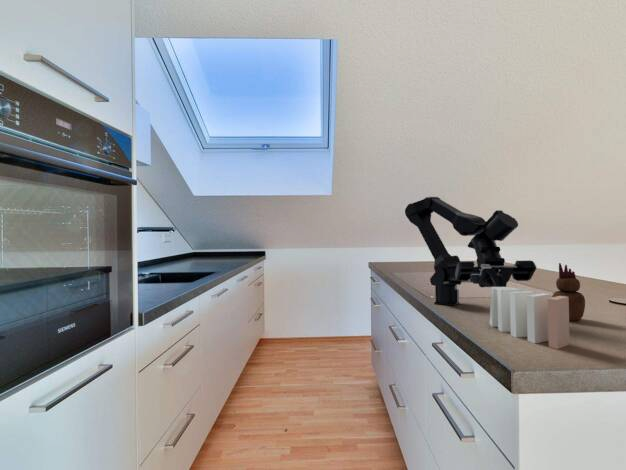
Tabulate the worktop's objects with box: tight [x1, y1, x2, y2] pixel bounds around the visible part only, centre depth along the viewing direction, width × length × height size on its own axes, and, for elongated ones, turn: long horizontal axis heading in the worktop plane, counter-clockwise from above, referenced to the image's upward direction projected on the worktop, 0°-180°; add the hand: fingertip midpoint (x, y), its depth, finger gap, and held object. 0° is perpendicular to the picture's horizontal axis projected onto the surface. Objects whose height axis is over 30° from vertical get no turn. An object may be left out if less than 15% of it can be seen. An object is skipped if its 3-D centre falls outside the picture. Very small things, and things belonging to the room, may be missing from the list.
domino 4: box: [527, 292, 551, 344], centre depth 70 cm, size 2×5×10 cm, turn 109°
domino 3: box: [510, 290, 536, 339], centre depth 74 cm, size 2×5×10 cm, turn 99°
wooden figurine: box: [551, 262, 586, 322], centre depth 86 cm, size 7×6×15 cm
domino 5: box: [548, 296, 571, 350], centre depth 67 cm, size 2×5×10 cm, turn 119°
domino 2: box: [497, 287, 523, 333], centre depth 78 cm, size 2×5×10 cm, turn 89°
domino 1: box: [489, 286, 515, 328], centre depth 81 cm, size 2×5×10 cm, turn 79°
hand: (503, 297), depth 81 cm, fingers closed
